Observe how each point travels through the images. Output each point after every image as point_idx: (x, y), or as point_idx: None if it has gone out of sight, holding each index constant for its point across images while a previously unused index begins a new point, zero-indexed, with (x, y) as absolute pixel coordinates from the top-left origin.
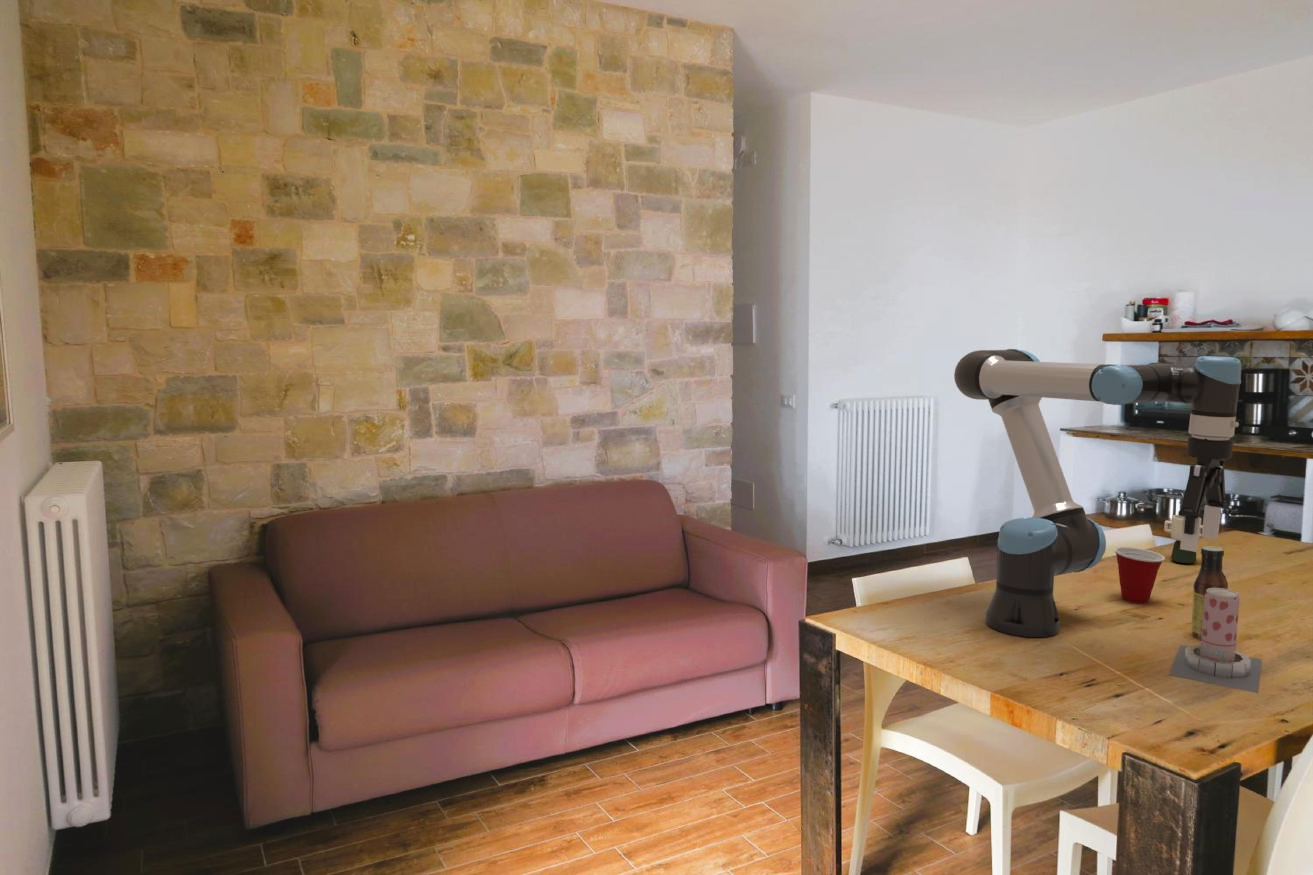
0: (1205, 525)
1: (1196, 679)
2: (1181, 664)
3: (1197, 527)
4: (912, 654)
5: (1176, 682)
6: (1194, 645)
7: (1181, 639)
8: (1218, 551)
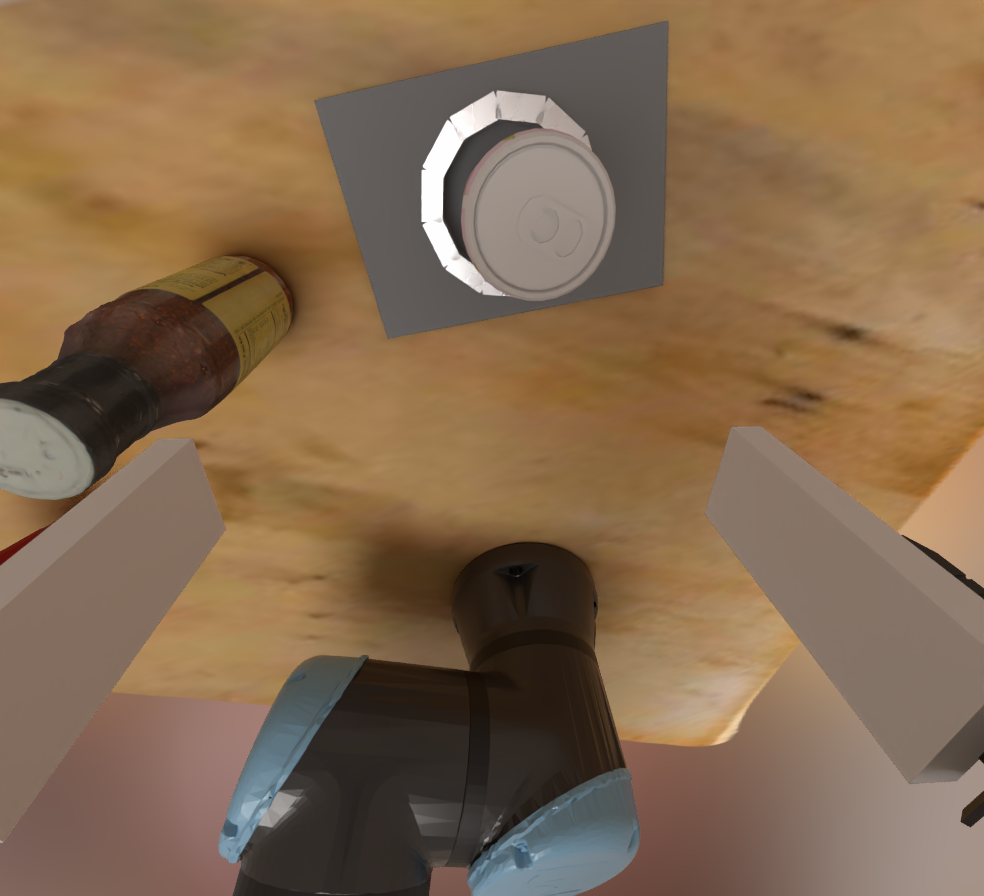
0: (165, 588)
1: (655, 217)
2: None
3: (932, 570)
4: None
5: (685, 257)
6: (472, 286)
7: (321, 353)
8: (47, 411)
